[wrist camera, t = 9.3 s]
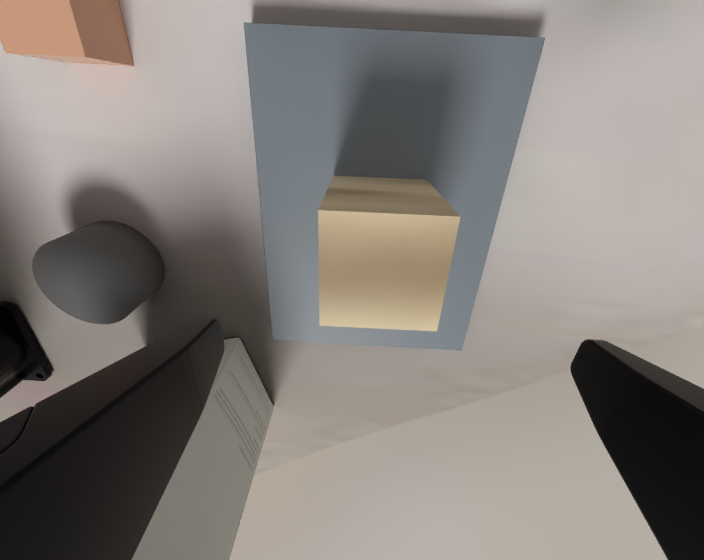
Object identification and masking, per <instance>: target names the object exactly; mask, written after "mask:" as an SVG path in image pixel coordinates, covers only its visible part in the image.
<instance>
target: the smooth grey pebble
mask: <svg viewBox="0 0 704 560" xmlns="http://www.w3.org/2000/svg"><path fill="white" fill-rule="evenodd" d="M33 273H34V277H35V279H36V282H37V284H38V285H39V287H40V289H41V290H42V292H43V293H44V294H45V295H46V297H47V298H48V299H49V300H50V301H51V302H52V303H53V304H55V305H56V306H57V307H58V308H60V309H61V310H62V311H64V312H66V313H67V314H69V315H71V316H73V317H75V318H77V319H80V320H83V321H86V322H90V323H95V324H111V323H115V322H118V321H121V320H122V319H124V318H125V317H127V316H128V315H129V314H130V313H131V312H132V311H133V310H135V309H136V308H137V307H138V306H139V305H140V304H141V303H143V302H144V301H145V300H146V299H147V298H148V297H149V296H151V295H152V294H153V293H154V292H155V291H156V290H157V289H158V288H159V287H160V286H161V284H162V282H163V279H164V264H163V261H162V258H161V256H160V254H159V252H158V251H157V249H156V248H155V246H154V245H153V244H152V243H151V242H150V241H149V240H148V239H147V238H146V237H145V236H144V235H143V234H141V233H140V232H139V231H137V230H135V229H133V228H132V227H129V226H127V225H125V224H122V223H118V222H113V221H100V222H96V223H93V224H90V225H88V226H86V227H83V228H81V229H78V230H76V231H74V232H71V233H69V234H67V235H64V236H62V237H59V238H57V239H55V240H52V241H50V242H48V243H46V244H44V245H42V246H41V247H40V248H39V249H38V250H37V251H36V253H35V255H34V258H33Z"/></svg>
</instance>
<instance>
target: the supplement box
mask: <svg viewBox="0 0 704 560" xmlns="http://www.w3.org/2000/svg"><path fill="white" fill-rule="evenodd" d="M224 346H225V348H224V354H223V357H222V360H221V362H220V365H219V368H218V371H217V374H216V377H215V380H214V382H213V385H212V388H211V391H210V394H209V397H208V399H207V402H206V405H205V407H204V410H203V412H202V414H201V417H200V419H199V421H198V423H197V425H196V427H195V429H194V431H193V433H192V435H191V437H190V440H189V442H188V444H187V446H186V448H185V450H184V452H183V454H182V456H181V458H180V460H179V462H178V465H177V467H176V469H175V471H174V473H173V475H172V477H171V479H170V481H169V483H168V485H167V487H166V490H165V492H164V494H163V496H162V498H161V500H160V502H159V504H158V506H157V508H156V510H155V512H154V514H153V517H152V519H151V521H150V523H149V525H148V527H147V529H146V531H145V533H144V535H143V537H142V539H141V542H140V544H139V546H138V548H137V550H136V552H135V554H134V556H133V558H132V560H229V558H230V555H231V551H232V548H233V544H234V541H235V538H236V534H237V531H238V527H239V524H240V520H241V517H242V513H243V510H244V506H245V503H246V500H247V496H248V493H249V489H250V486H251V482H252V479H253V476H254V473H255V469H256V466H257V462H258V459H259V455H260V452H261V448H262V445H263V442H264V439H265V435H266V432H267V429H268V425H269V422H270V418H271V415H272V412H273V408H274V407H273V405H272V403H271V401H270V399H269V396H268V394H267V392H266V390H265V388H264V386H263V384H262V382H261V380H260V378H259V376H258V374H257V372H256V370H255V368H254V366H253V364H252V362H251V360H250V358H249V356H248V354H247V352H246V350H245V347H244V345H243V343H242V341H241V339H240V338H231V339H224Z"/></svg>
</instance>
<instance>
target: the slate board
mask: <svg viewBox="0 0 704 560" xmlns="http://www.w3.org/2000/svg"><path fill="white" fill-rule="evenodd" d="M244 30H245V41H246V52H247V63H248V74H249V85H250V96H251V107H252V118H253V129H254V140H255V151H256V162H257V173H258V184H259V195H260V206H261V217H262V228H263V239H264V250H265V261H266V272H267V283H268V294H269V305H270V316H271V327H272V338H273V340H278V341H296V342H315V343H333V344H351V345H370V346H388V347H406V348H425V349H443V350H462V347H463V343H464V339H465V336H466V332H467V328H468V324H469V321H470V317H471V313H472V309H473V306H474V302H475V298H476V294H477V291H478V287H479V283H480V280H481V276H482V272H483V268H484V265H485V261H486V257H487V253H488V250H489V246H490V242H491V238H492V235H493V231H494V227H495V223H496V220H497V216H498V212H499V209H500V205H501V201H502V197H503V194H504V190H505V186H506V182H507V179H508V175H509V171H510V167H511V164H512V160H513V156H514V153H515V149H516V145H517V141H518V138H519V134H520V130H521V126H522V123H523V119H524V115H525V111H526V108H527V104H528V100H529V96H530V93H531V89H532V85H533V82H534V78H535V74H536V70H537V67H538V63H539V59H540V55H541V52H542V48H543V44H544V40H545V38H540V37H521V36H501V35H481V34H461V33H441V32H422V31H402V30H382V29H362V28H343V27H323V26H303V25H283V24H264V23H244ZM333 176H352V177H374V178H396V179H418V180H427V181H428V182H429V183H430V184H431V185H432V186H433V187H434V188H435V189H436V191H437V192H438V193H439V194H440V195H441V196H442V197H443V198H444V199H445V200H446V201H447V203H448V204H449V205H450V206H451V207H452V208H453V209H454V210H455V211H456V212H457V213H458V214H459V216H460V222H459V226H458V231H457V236H456V241H455V246H454V251H453V256H452V261H451V266H450V271H449V275H448V280H447V285H446V290H445V295H444V300H443V305H442V310H441V315H440V319H439V324H438V329H437V331H417V330H397V329H376V328H356V327H335V326H319V242H318V209H319V207H320V205H321V202H322V200H323V198H324V196H325V193H326V191H327V189H328V187H329V184H330V182H331V180H332V178H333Z"/></svg>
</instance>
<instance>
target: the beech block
mask: <svg viewBox="0 0 704 560" xmlns="http://www.w3.org/2000/svg"><path fill="white" fill-rule="evenodd" d="M459 222H460V216H459V214H458V213H457V212H456V211H455V210H454V209H453V208H452V207H451V206H450V205H449V204H448V203H447V201H446V200H445V199H444V198H443V197H442V196H441V195H440V194H439V193H438V192H437V191H436V189H435V188H434V187H433V186H432V185H431V184H430V183H429V182H428V181H427V180H418V179H396V178H374V177H352V176H333V178H332V180H331V182H330V184H329V187H328V189H327V191H326V193H325V196H324V198H323V200H322V202H321V205H320V207H319V209H318V242H319V326H335V327H356V328H376V329H397V330H417V331H437V329H438V324H439V319H440V315H441V310H442V305H443V300H444V295H445V290H446V285H447V280H448V275H449V271H450V266H451V261H452V256H453V251H454V246H455V241H456V236H457V231H458V226H459Z"/></svg>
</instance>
